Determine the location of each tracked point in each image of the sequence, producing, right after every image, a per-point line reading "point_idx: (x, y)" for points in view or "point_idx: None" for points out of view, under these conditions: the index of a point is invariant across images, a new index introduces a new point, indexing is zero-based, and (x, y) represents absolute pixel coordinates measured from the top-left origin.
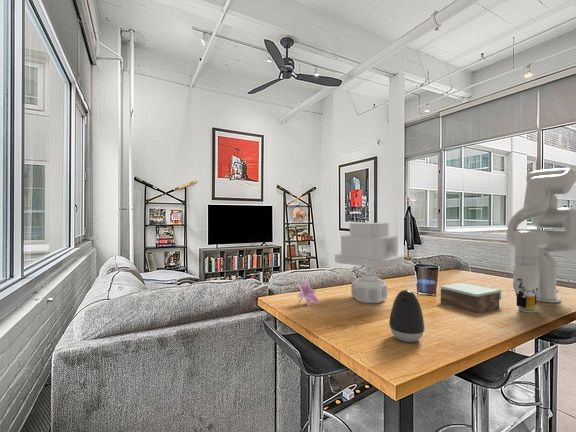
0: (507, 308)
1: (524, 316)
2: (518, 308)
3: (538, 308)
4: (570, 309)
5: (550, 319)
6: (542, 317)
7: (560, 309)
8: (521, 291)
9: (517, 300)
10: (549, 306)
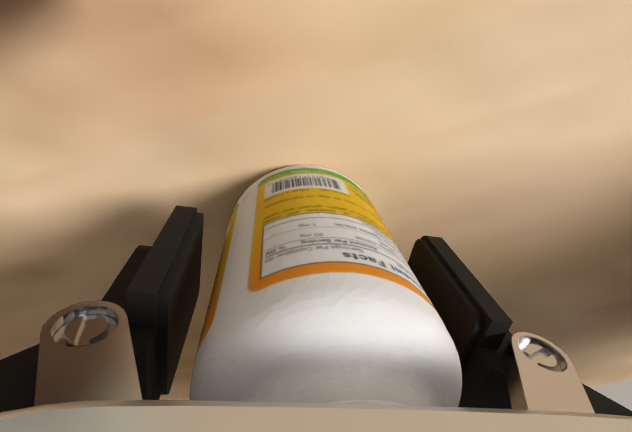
0: (210, 64)
1: (55, 285)
2: (261, 179)
3: (487, 263)
4: (607, 380)
5: (185, 398)
6: (187, 361)
7: (565, 353)
8: (257, 396)
9: (156, 252)
10: (626, 290)
